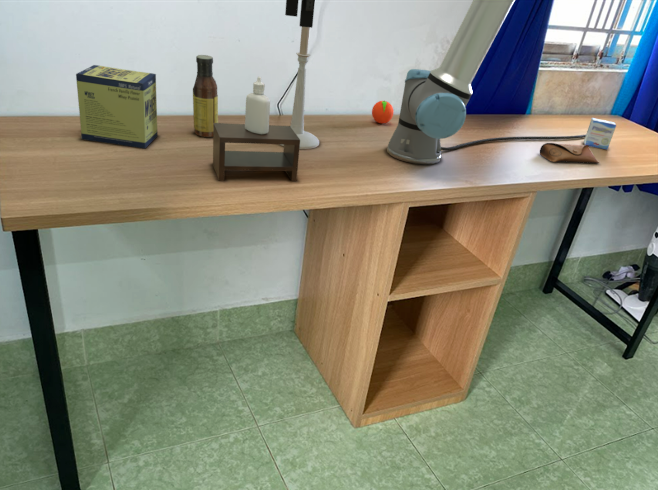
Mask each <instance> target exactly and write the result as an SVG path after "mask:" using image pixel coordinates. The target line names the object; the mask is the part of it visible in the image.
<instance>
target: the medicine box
mask: <svg viewBox="0 0 658 490" xmlns="http://www.w3.org/2000/svg"><path fill="white" fill-rule="evenodd" d="M616 127H617V123H616V122H614V121H610V120H605V119H599V118H595V117H591V118H590V122H589V125H588V128H587V131H586V133H585V135H586V136H585V137H584V138H583V139H584V140H583V144H584V145H589V148H597V149H601V150H606V151H608V149H609V147H610V144H611V142H612V139H613V136H614V133H615V130H616Z"/></svg>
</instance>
